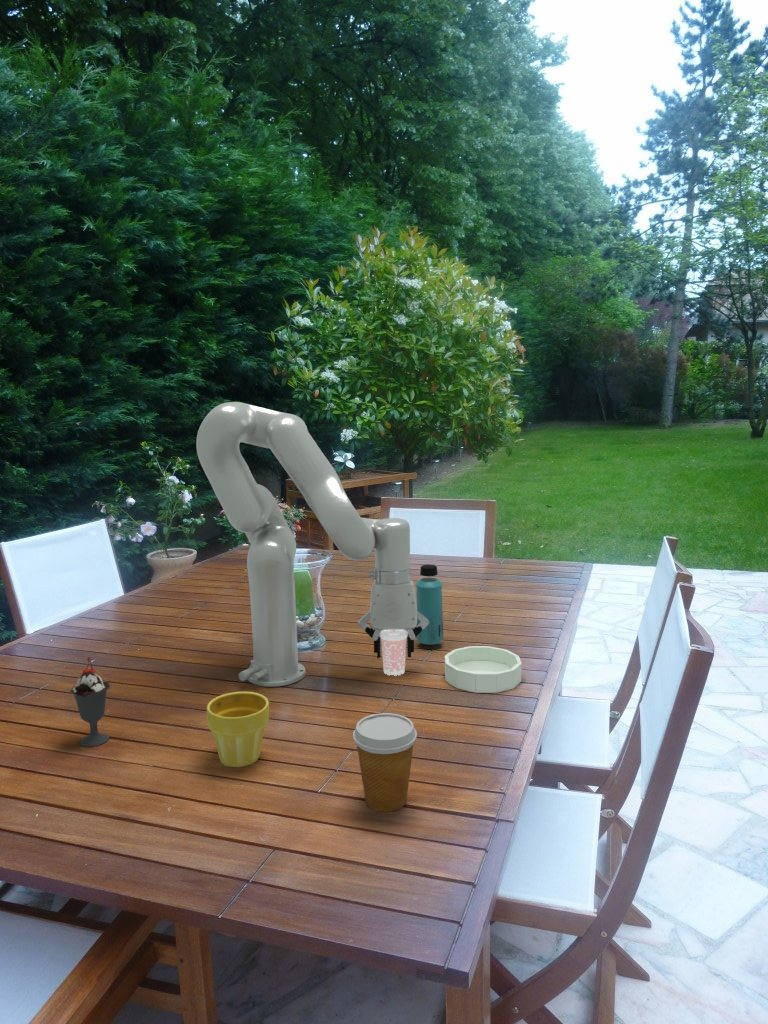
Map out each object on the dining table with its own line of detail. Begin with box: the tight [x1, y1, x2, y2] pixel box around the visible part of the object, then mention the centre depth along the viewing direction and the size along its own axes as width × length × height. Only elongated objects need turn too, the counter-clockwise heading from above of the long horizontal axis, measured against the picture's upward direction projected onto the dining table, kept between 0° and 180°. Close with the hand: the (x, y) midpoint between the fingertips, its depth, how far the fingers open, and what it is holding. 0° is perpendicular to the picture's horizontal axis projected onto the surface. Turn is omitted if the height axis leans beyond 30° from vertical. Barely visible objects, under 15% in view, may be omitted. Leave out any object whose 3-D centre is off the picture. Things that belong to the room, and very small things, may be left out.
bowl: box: [444, 645, 523, 694], centre depth 153 cm, size 16×16×4 cm
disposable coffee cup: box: [352, 712, 418, 813], centre depth 107 cm, size 10×10×12 cm
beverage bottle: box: [415, 564, 444, 645], centre depth 170 cm, size 6×7×20 cm
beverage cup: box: [379, 629, 408, 677], centre depth 155 cm, size 6×6×14 cm
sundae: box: [69, 656, 111, 748], centre depth 126 cm, size 7×7×15 cm
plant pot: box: [206, 691, 270, 768], centre depth 120 cm, size 10×10×10 cm
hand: (394, 654), depth 156 cm, fingers closed on beverage cup, 6 cm apart
